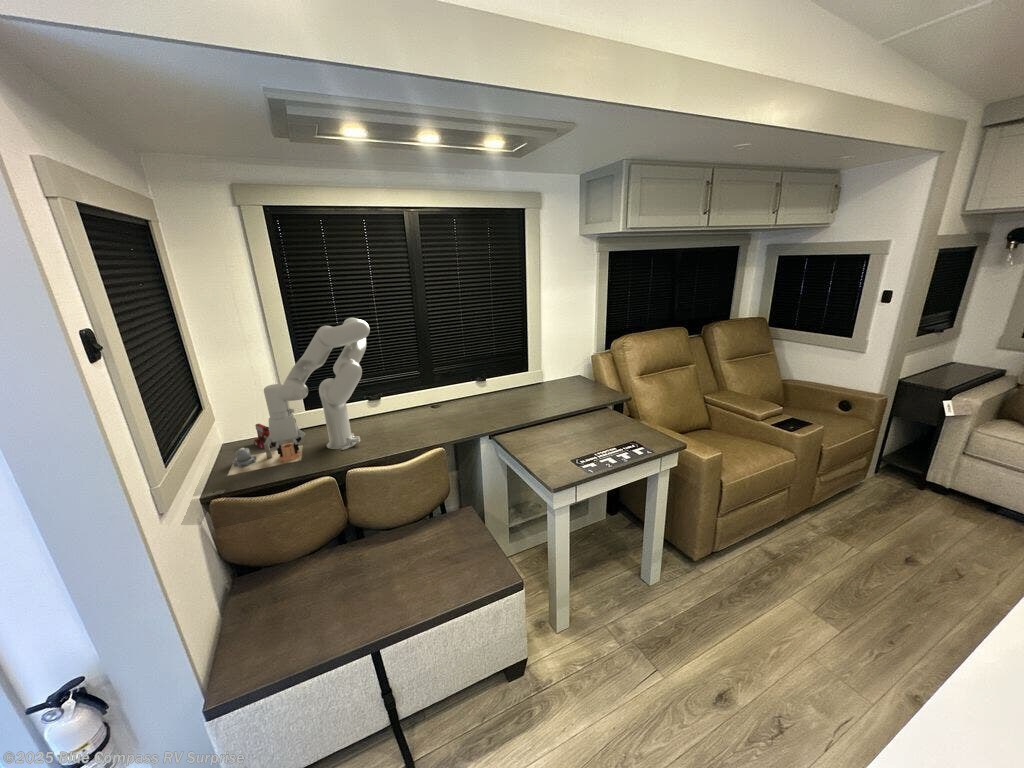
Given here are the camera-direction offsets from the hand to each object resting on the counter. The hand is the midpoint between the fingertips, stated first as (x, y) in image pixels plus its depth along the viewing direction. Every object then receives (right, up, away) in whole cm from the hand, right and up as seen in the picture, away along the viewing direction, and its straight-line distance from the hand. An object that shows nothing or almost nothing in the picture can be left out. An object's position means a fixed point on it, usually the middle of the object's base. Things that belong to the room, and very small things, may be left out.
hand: (289, 453), depth 164 cm
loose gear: (0, -2, +1) cm, 2 cm away
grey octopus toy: (-17, -4, -3) cm, 17 cm away
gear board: (-9, -4, 0) cm, 10 cm away
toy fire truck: (-19, 0, +15) cm, 24 cm away
